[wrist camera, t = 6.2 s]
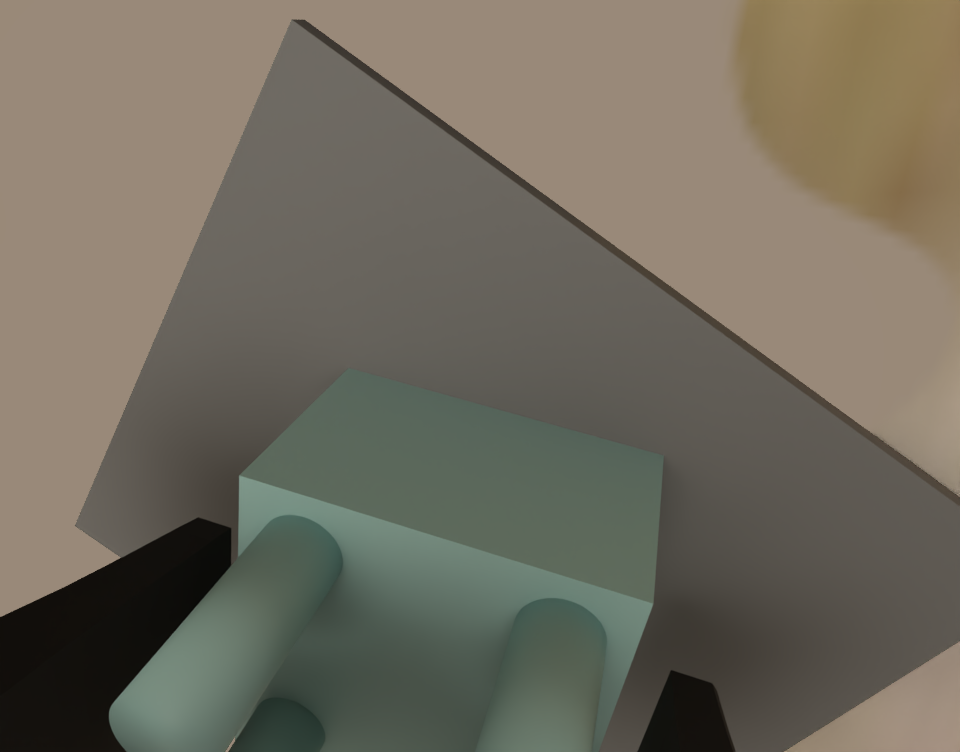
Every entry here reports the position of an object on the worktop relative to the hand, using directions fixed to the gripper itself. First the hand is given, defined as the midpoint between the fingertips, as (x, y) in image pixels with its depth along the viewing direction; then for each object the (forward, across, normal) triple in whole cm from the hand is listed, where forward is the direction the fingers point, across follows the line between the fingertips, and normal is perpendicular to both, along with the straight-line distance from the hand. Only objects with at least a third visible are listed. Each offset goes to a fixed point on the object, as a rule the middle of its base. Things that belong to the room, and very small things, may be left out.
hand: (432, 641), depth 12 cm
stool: (+2, 0, 0) cm, 2 cm away
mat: (+3, 0, 0) cm, 3 cm away
